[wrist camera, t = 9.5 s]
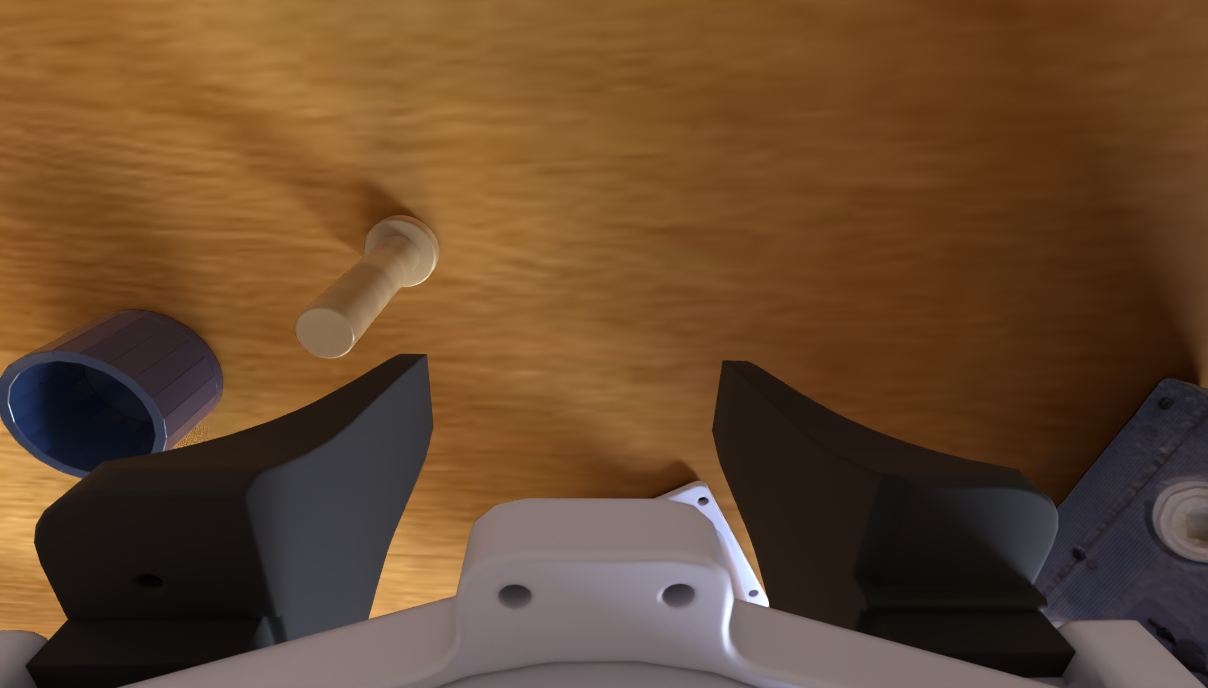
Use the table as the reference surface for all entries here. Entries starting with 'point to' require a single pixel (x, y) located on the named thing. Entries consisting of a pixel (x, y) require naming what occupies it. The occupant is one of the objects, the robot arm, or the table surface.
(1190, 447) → the vhs cassette tape
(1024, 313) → the table surface
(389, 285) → the beige capped rod
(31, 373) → the cup
